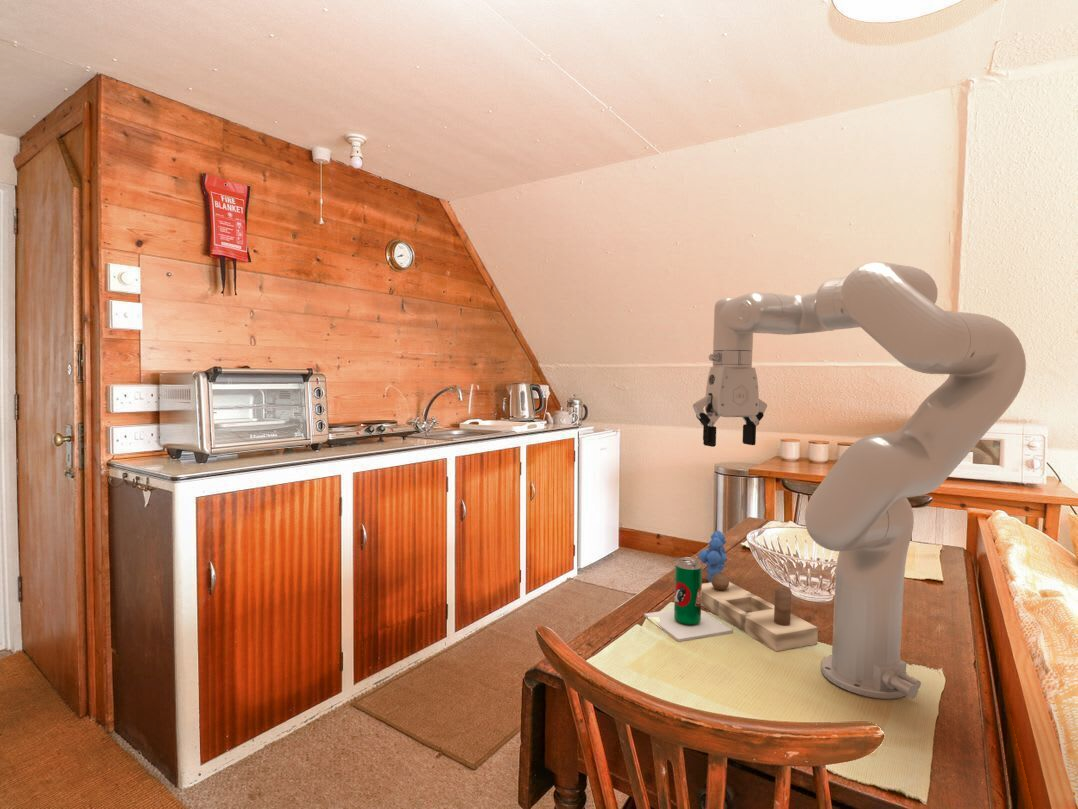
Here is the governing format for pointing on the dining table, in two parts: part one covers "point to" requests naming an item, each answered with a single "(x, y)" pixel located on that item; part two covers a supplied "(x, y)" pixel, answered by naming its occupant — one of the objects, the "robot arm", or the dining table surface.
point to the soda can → (688, 591)
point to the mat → (689, 626)
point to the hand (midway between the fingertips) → (729, 445)
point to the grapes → (714, 555)
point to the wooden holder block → (758, 614)
